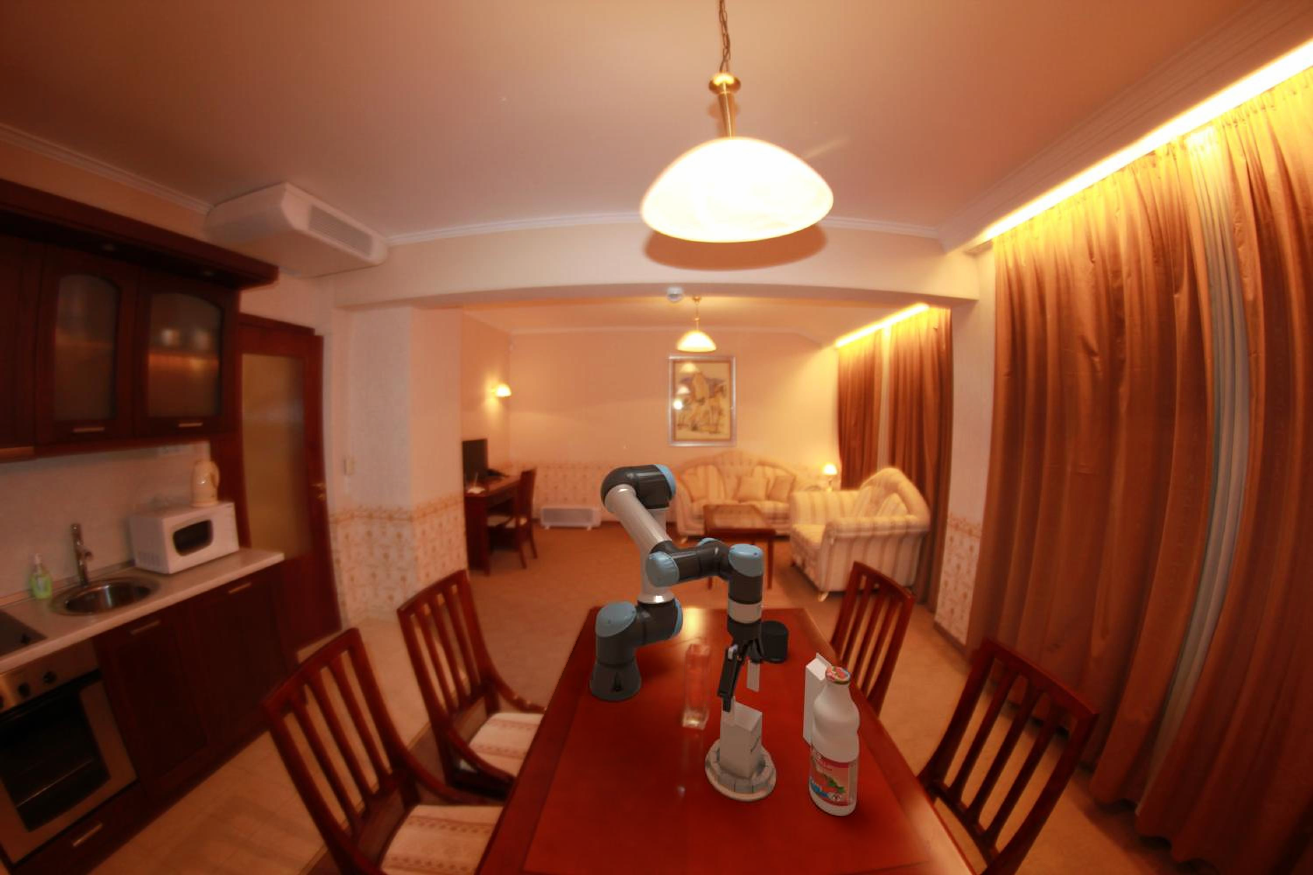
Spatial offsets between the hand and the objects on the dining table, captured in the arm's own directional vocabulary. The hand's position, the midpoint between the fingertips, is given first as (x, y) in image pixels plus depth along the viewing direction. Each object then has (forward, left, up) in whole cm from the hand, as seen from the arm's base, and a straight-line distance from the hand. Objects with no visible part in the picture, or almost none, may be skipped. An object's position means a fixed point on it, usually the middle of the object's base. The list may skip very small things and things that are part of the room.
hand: (740, 704), depth 100 cm
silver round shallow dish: (0, 0, -16) cm, 16 cm away
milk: (+13, +19, -16) cm, 28 cm away
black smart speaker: (-10, +49, -16) cm, 52 cm away
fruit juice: (+19, +5, -16) cm, 25 cm away
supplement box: (0, 0, -15) cm, 15 cm away
